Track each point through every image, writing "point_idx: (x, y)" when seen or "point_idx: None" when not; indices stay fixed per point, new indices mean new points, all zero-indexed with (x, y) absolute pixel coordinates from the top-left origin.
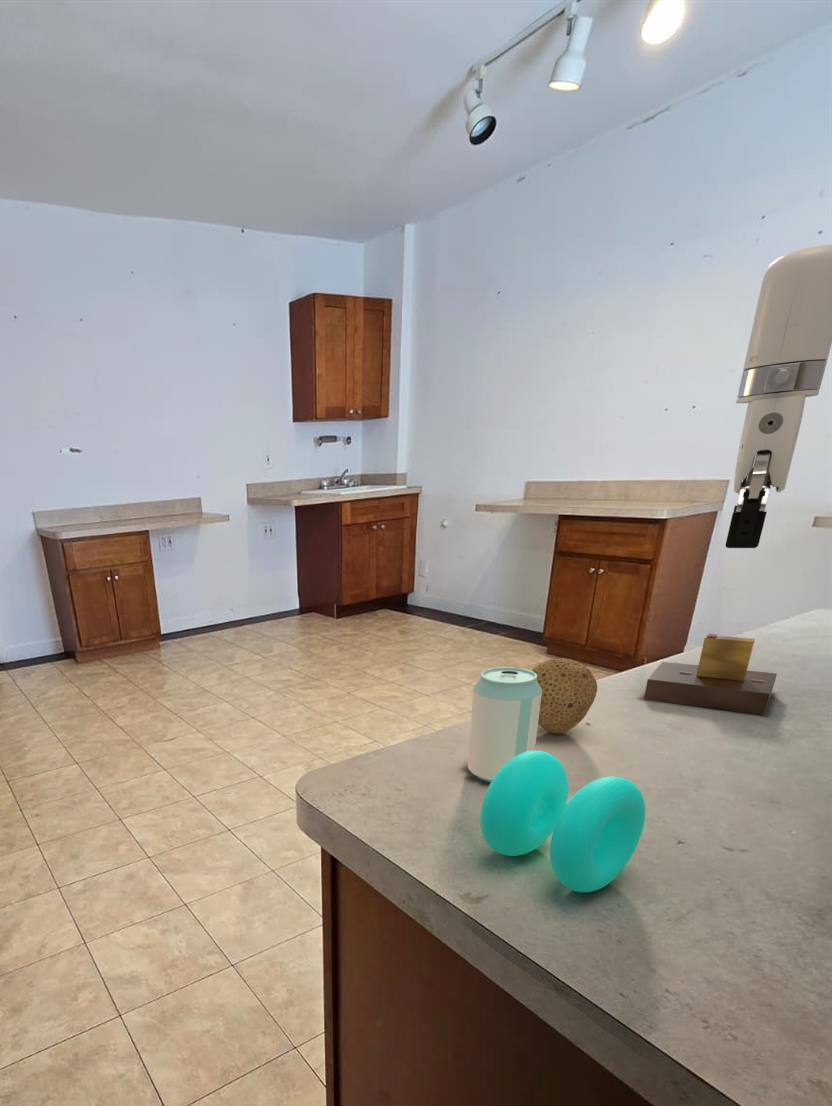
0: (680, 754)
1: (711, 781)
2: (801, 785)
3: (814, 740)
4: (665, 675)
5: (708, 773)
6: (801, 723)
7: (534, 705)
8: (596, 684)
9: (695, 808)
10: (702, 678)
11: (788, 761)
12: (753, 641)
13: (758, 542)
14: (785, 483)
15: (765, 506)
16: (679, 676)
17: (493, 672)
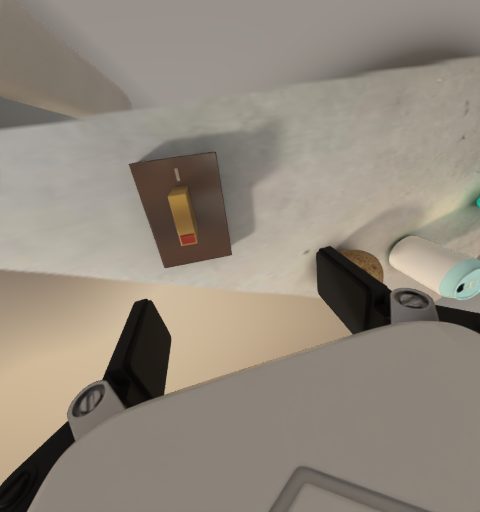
0: (337, 181)
1: (377, 147)
2: (364, 88)
3: (258, 95)
4: (211, 248)
5: (364, 153)
6: (216, 115)
7: (466, 255)
8: (359, 258)
9: (420, 144)
10: (201, 220)
11: (320, 107)
12: (183, 194)
13: (332, 249)
14: (474, 333)
15: (426, 295)
16: (207, 238)
17: (460, 295)
